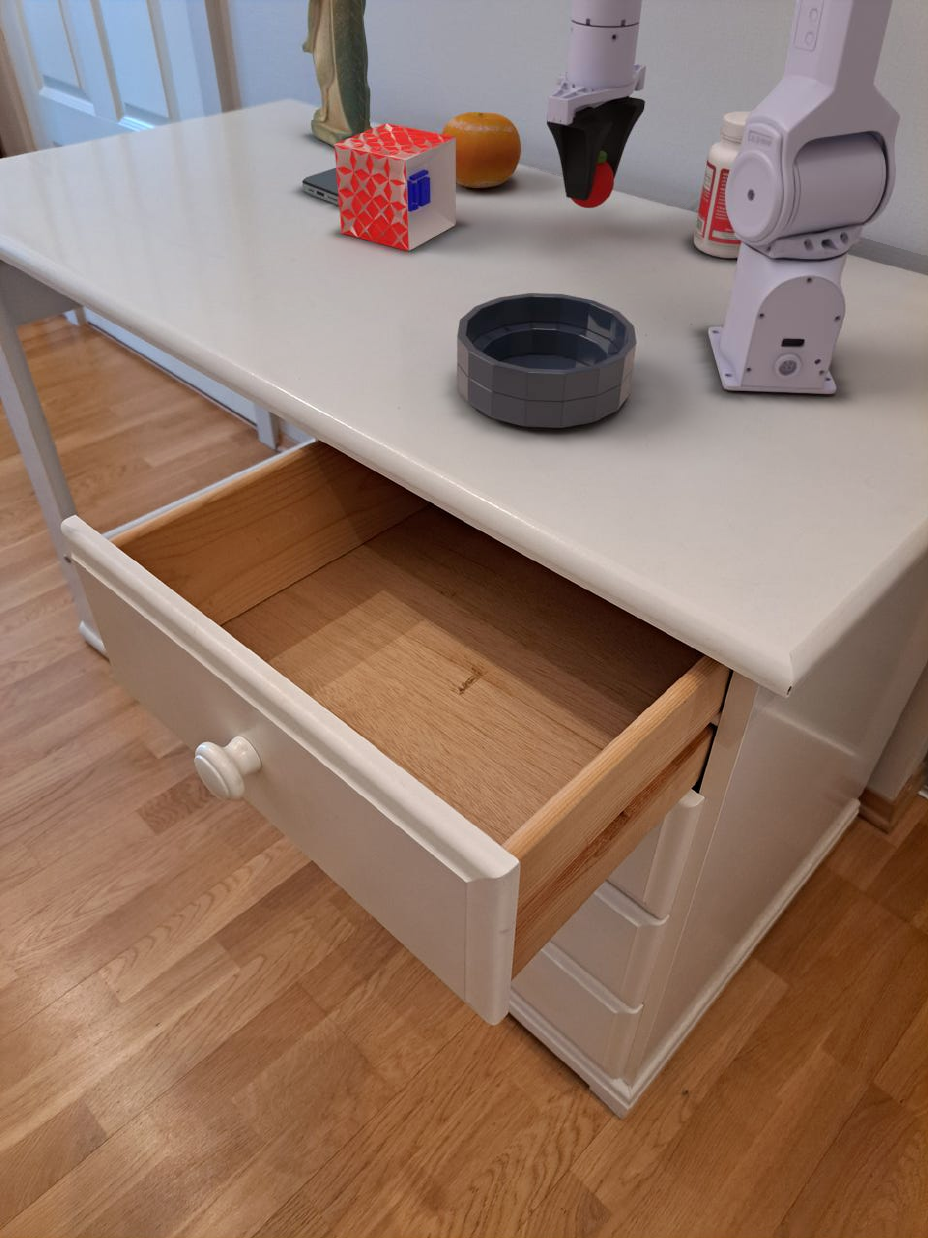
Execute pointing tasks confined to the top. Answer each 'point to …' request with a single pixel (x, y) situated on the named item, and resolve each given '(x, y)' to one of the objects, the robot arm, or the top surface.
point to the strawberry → (599, 184)
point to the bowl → (545, 359)
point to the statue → (339, 68)
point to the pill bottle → (719, 191)
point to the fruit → (484, 148)
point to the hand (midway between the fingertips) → (589, 190)
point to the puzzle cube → (396, 185)
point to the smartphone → (323, 186)
